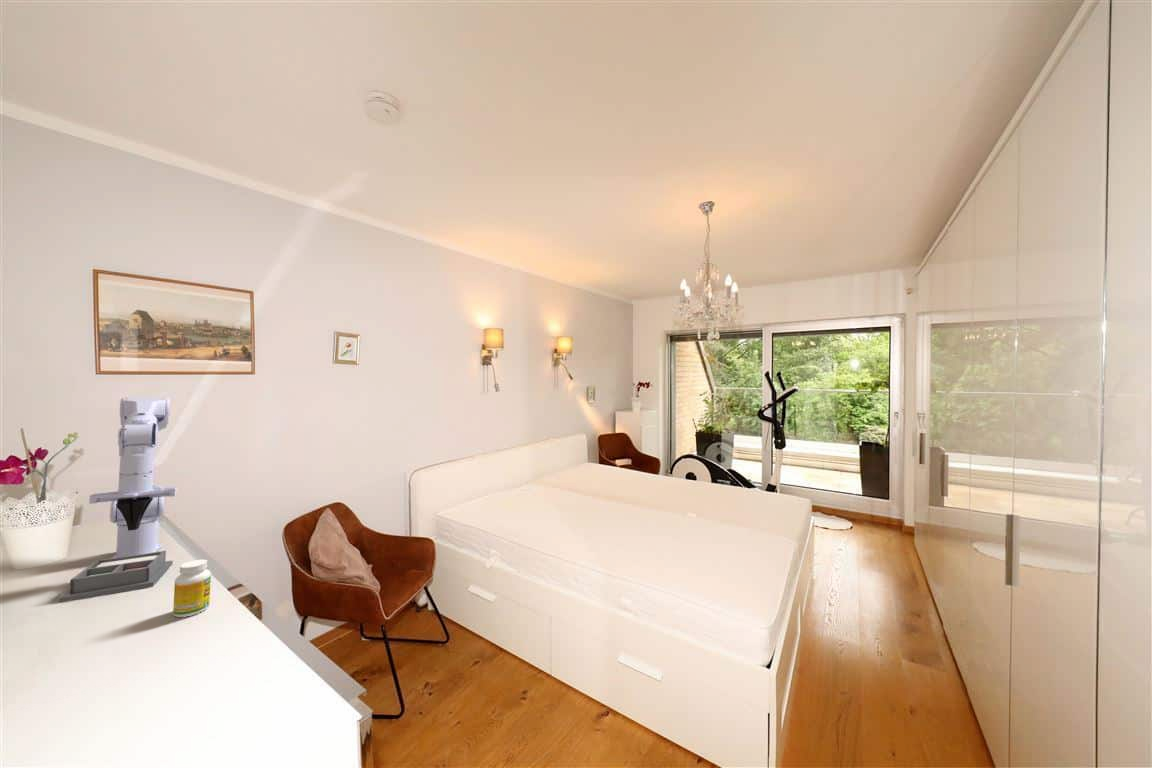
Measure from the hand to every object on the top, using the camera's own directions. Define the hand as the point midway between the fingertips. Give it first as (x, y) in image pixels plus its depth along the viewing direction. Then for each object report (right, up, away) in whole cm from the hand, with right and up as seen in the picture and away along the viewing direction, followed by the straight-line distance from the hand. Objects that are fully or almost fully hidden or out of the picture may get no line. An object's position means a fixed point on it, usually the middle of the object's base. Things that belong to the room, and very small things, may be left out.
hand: (133, 529), depth 98 cm
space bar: (+1, -8, -3) cm, 9 cm away
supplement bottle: (+31, -11, -17) cm, 36 cm away
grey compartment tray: (+3, -10, -5) cm, 12 cm away
